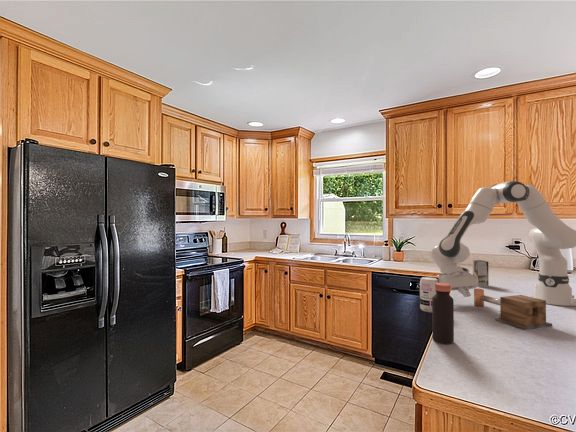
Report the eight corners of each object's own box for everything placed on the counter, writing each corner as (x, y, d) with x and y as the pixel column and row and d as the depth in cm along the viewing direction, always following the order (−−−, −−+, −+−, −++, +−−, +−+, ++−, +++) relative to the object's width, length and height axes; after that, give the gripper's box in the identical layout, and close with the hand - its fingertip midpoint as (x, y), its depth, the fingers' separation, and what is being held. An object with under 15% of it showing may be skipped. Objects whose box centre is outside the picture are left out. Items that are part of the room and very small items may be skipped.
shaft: (478, 304, 152) (478, 288, 152) (519, 316, 134) (518, 297, 134) (472, 305, 151) (472, 288, 151) (512, 317, 132) (511, 298, 132)
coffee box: (489, 287, 198) (488, 261, 198) (477, 287, 199) (477, 261, 199) (483, 284, 207) (483, 259, 207) (472, 284, 208) (472, 259, 208)
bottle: (450, 346, 106) (450, 287, 107) (429, 341, 111) (429, 284, 111) (456, 340, 111) (455, 283, 112) (435, 335, 116) (435, 281, 116)
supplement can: (437, 308, 151) (437, 277, 151) (440, 313, 143) (439, 280, 143) (419, 307, 153) (419, 276, 154) (420, 312, 146) (420, 279, 146)
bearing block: (522, 316, 138) (521, 294, 138) (552, 325, 127) (552, 300, 127) (494, 320, 133) (494, 296, 133) (523, 329, 122) (523, 304, 122)
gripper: (439, 270, 160) (454, 294, 150) (470, 268, 166) (487, 291, 156) (432, 277, 164) (447, 301, 154) (463, 275, 170) (479, 298, 161)
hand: (467, 296), depth 156 cm, fingers closed
